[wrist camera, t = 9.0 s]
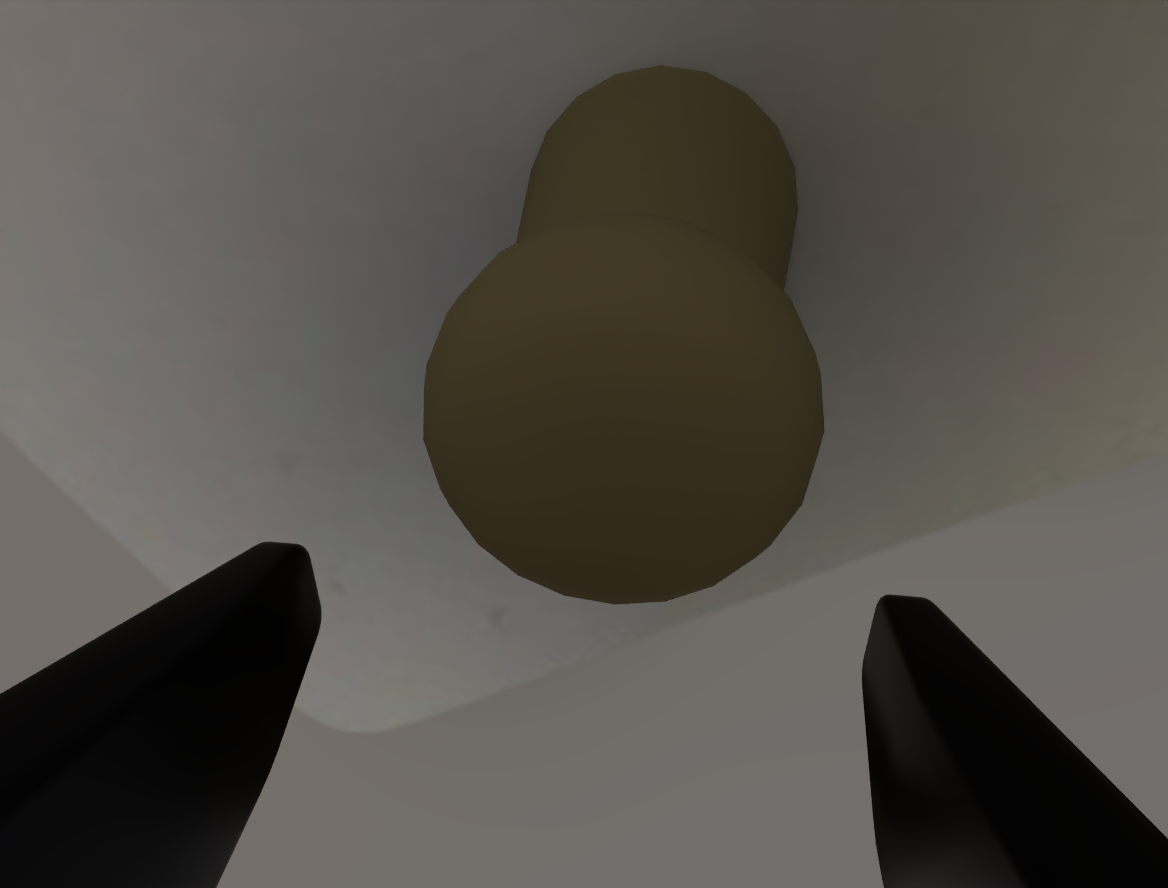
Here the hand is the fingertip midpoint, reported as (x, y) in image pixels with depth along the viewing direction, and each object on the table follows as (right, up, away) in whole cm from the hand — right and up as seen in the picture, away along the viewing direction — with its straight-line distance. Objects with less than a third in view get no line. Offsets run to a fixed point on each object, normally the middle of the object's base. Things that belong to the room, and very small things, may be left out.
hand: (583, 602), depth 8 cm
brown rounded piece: (+2, +7, +11) cm, 13 cm away
